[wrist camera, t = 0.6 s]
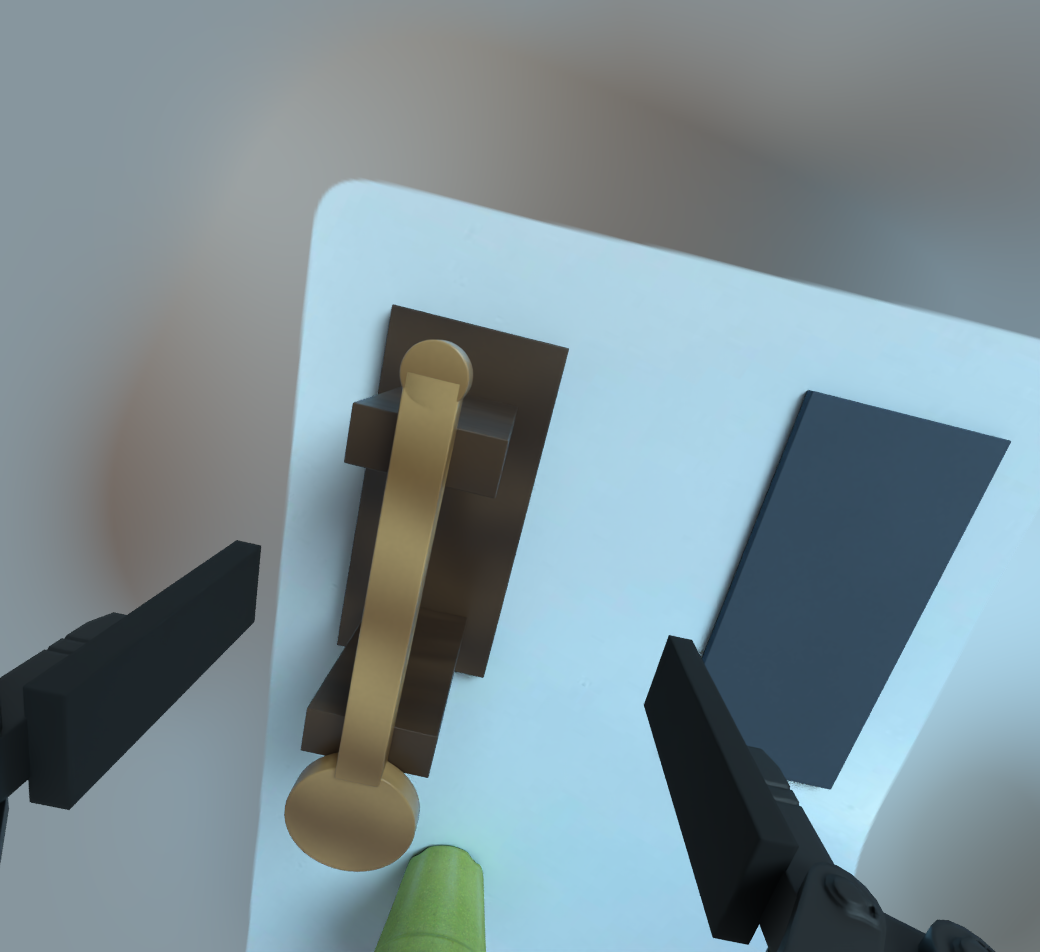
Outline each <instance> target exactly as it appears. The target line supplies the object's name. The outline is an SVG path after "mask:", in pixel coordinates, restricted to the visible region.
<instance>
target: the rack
mask: <svg viewBox="0 0 1040 952" xmlns="http://www.w3.org/2000/svg"><path fill="white" fill-rule="evenodd" d="M425 340H446V341H449V342H452V343H454V344H456V345H457V346H459V347H460V348H461V349H462V350H463V351H464V352H465V353H466V354H467V356H468V358H469V359H470V362H471V364H472V368H473V381H472V385H471V388H470V390H469V392H468V393H467V395H466V396H465V397H464V398H463V402H462V407H461V412H460V416H459V421H458V426H457V431H456V435H455V440H454V445H453V450H452V455H451V459H450V464H449V469H448V474H447V478H446V483H445V488H444V493H443V497H442V502H441V507H440V512H439V517H438V521H437V526H436V531H435V536H434V540H433V545H432V550H431V555H430V560H429V564H428V569H427V574H426V579H425V583H424V588H423V593H422V598H421V602H420V607H419V612H418V617H417V622H416V626H415V631H414V636H413V641H412V645H411V650H410V655H409V660H408V664H407V669H406V674H405V679H404V684H403V688H402V693H401V698H400V703H399V707H398V712H397V717H396V722H395V727H394V731H393V736H392V741H391V746H390V750H389V755H388V760H387V761H388V762H390V763H391V764H393V765H394V766H396V767H397V768H398V769H400V770H401V771H402V772H403V773H407V774H412V775H417V776H421V777H426V778H428V777H429V773H430V769H431V765H432V761H433V756H434V752H435V748H436V744H437V740H438V736H439V732H440V728H441V724H442V720H443V716H444V711H445V707H446V703H447V699H448V695H449V691H450V687H451V683H452V679H453V675H454V671H455V672H460V673H464V674H469V675H473V676H478V677H482V678H483V677H484V674H485V670H486V666H487V663H488V659H489V655H490V651H491V647H492V643H493V640H494V636H495V632H496V628H497V624H498V620H499V616H500V613H501V609H502V605H503V601H504V597H505V593H506V590H507V586H508V582H509V578H510V574H511V570H512V566H513V563H514V559H515V555H516V551H517V547H518V543H519V540H520V536H521V532H522V528H523V524H524V520H525V516H526V513H527V509H528V505H529V501H530V497H531V493H532V489H533V486H534V482H535V478H536V474H537V470H538V466H539V463H540V459H541V455H542V451H543V447H544V443H545V439H546V436H547V432H548V428H549V424H550V420H551V416H552V413H553V409H554V405H555V401H556V397H557V393H558V389H559V386H560V382H561V378H562V374H563V370H564V366H565V363H566V359H567V355H568V351H569V349H568V348H565V347H561V346H557V345H553V344H549V343H545V342H541V341H537V340H533V339H529V338H525V337H521V336H517V335H513V334H509V333H505V332H501V331H497V330H493V329H489V328H485V327H481V326H477V325H473V324H469V323H465V322H461V321H457V320H453V319H449V318H445V317H441V316H437V315H433V314H429V313H425V312H421V311H417V310H413V309H409V308H405V307H401V306H397V305H392V309H391V315H390V322H389V328H388V334H387V340H386V346H385V352H384V358H383V365H382V371H381V377H380V383H379V389H378V395H375V396H372V397H369V398H366V399H363V400H360V401H357V402H354V403H353V406H352V413H351V419H350V426H349V433H348V439H347V446H346V453H345V459H344V462H345V463H347V464H352V465H356V466H360V467H364V468H366V469H365V475H364V481H363V487H362V494H361V500H360V506H359V512H358V518H357V524H356V530H355V537H354V543H353V549H352V555H351V561H350V567H349V573H348V580H347V586H346V592H345V598H344V604H343V610H342V616H341V623H340V629H339V635H338V641H337V645H340V646H345V648H344V650H343V651H342V653H341V654H340V656H339V658H338V659H337V661H336V663H335V664H334V666H333V667H332V669H331V671H330V672H329V674H328V675H327V677H326V679H325V680H324V682H323V683H322V685H321V687H320V688H319V690H318V691H317V693H316V695H315V696H314V698H313V699H312V701H311V703H310V704H309V706H308V707H307V712H306V718H305V725H304V732H303V738H302V745H301V750H302V751H307V752H311V753H316V754H320V755H325V756H326V755H329V754H333V753H339V747H340V741H341V736H342V730H343V724H344V719H345V713H346V707H347V702H348V696H349V690H350V684H351V679H352V673H353V667H354V662H355V656H356V650H357V645H358V639H359V633H360V628H361V622H362V616H363V611H364V605H365V599H366V593H367V588H368V582H369V576H370V571H371V565H372V559H373V554H374V548H375V542H376V537H377V531H378V525H379V519H380V514H381V508H382V502H383V497H384V491H385V485H386V480H387V474H388V468H389V463H390V457H391V451H392V445H393V440H394V434H395V428H396V423H397V417H398V411H399V406H400V400H401V394H402V389H403V388H402V385H401V382H400V366H401V362H402V360H403V357H404V356H405V354H406V353H407V351H408V350H409V349H410V348H411V347H413V346H414V345H415V344H417V343H419V342H422V341H425Z"/></svg>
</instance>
